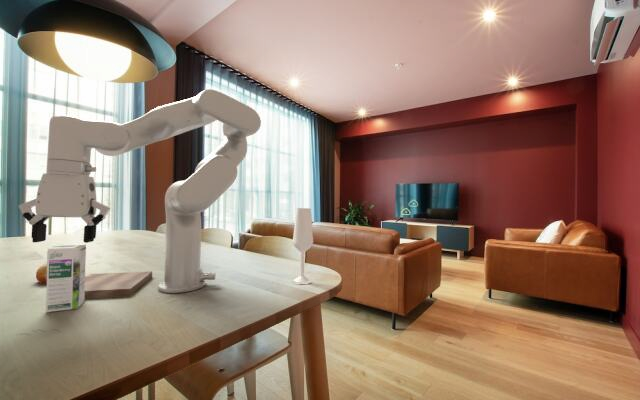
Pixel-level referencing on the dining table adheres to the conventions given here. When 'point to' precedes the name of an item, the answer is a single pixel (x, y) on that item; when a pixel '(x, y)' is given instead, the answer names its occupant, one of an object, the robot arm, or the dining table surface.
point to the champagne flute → (303, 236)
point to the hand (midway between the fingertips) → (64, 241)
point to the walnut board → (114, 284)
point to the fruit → (42, 274)
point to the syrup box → (65, 277)
